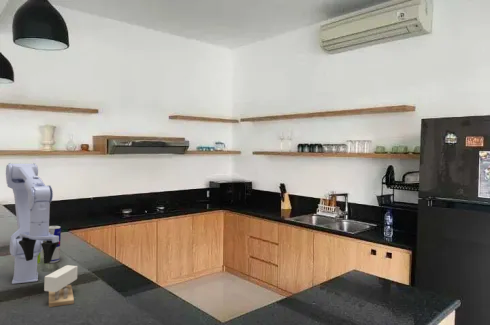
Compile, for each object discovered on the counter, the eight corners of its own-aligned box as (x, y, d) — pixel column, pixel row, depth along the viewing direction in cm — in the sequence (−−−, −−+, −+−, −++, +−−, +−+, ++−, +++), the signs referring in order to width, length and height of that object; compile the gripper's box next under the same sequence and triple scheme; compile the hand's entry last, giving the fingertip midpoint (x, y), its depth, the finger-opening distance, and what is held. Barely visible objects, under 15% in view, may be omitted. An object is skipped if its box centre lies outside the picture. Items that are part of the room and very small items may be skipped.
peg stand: (48, 291, 125) (49, 278, 124) (71, 288, 128) (71, 276, 128) (48, 307, 112) (49, 293, 112) (73, 303, 116) (74, 290, 116)
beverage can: (53, 264, 153) (54, 228, 152) (41, 262, 154) (43, 227, 153) (62, 260, 158) (63, 226, 158) (51, 259, 159) (52, 225, 159)
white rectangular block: (56, 291, 114) (56, 277, 114) (44, 290, 114) (44, 276, 114) (77, 278, 126) (77, 266, 126) (66, 278, 126) (66, 265, 126)
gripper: (66, 221, 125) (64, 260, 125) (32, 217, 129) (31, 256, 129) (50, 224, 118) (48, 266, 118) (14, 221, 122) (13, 261, 122)
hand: (38, 261), depth 123 cm, fingers open, 7 cm apart
